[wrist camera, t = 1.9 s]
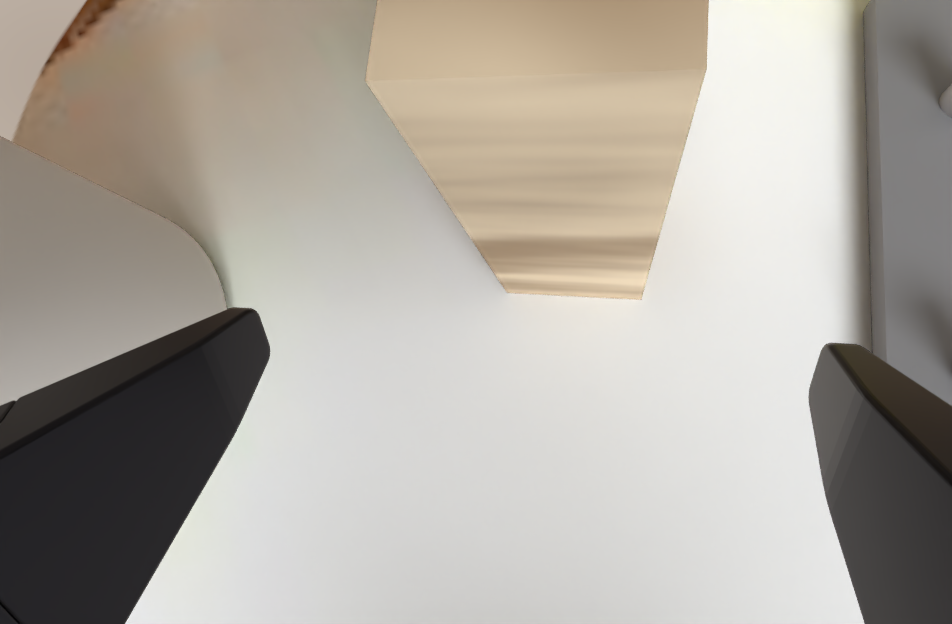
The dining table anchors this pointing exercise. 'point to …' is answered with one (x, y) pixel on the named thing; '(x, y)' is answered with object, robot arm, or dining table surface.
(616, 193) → the maple block
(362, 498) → the dining table surface
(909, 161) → the plate
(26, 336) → the cylinder vase
